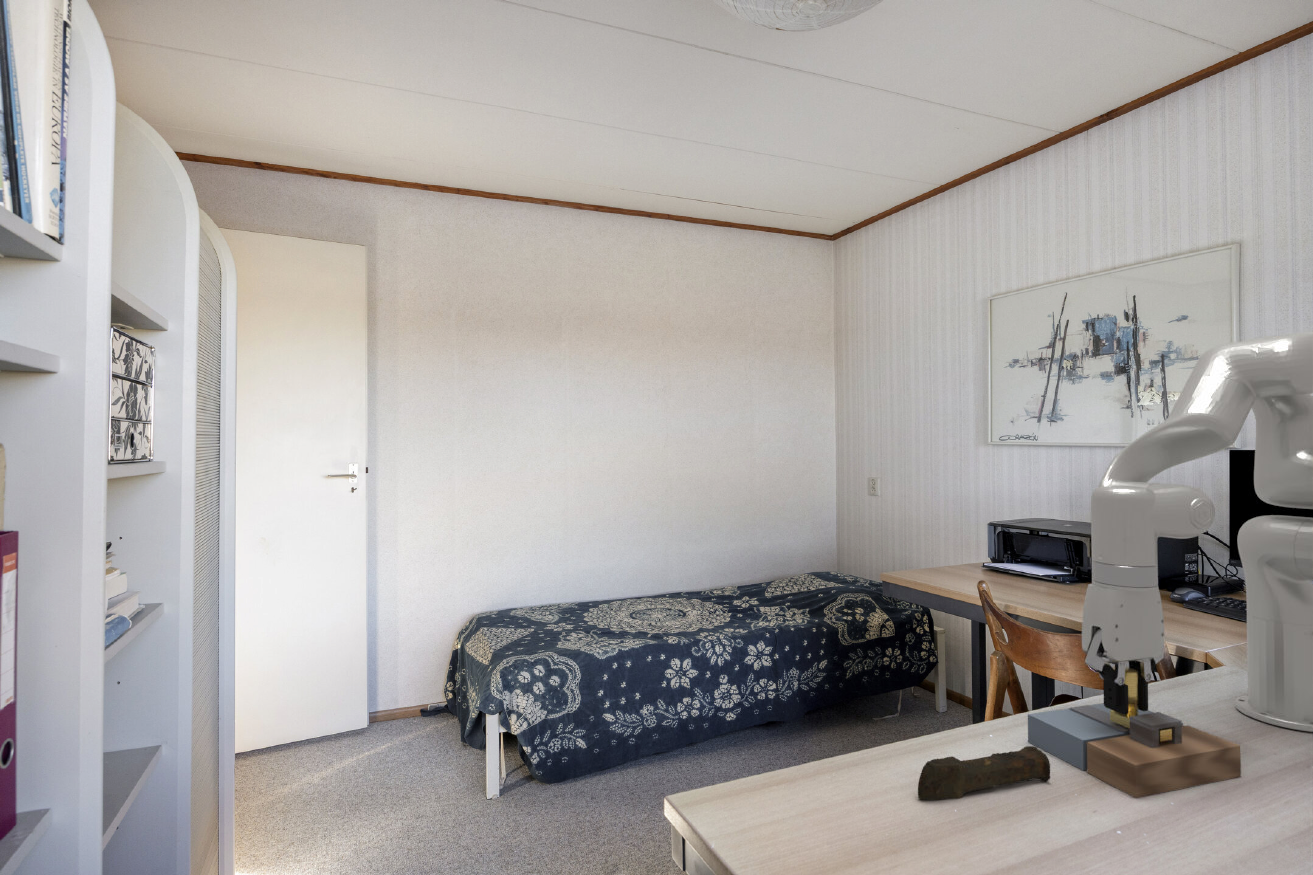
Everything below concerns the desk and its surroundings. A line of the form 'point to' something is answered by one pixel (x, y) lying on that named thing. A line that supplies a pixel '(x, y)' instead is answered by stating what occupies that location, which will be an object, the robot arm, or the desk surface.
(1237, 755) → the door jamb
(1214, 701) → the desk surface
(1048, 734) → the door leaf
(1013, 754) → the hand tool
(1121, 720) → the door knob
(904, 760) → the desk surface
